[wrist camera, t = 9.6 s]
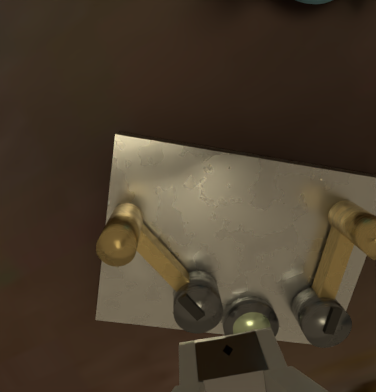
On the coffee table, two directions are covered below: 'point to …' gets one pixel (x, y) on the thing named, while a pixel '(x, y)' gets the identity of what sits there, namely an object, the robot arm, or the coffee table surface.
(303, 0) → the teapot
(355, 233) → the knob
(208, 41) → the coffee table surface
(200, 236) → the plate
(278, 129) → the coffee table surface
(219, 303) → the knob
